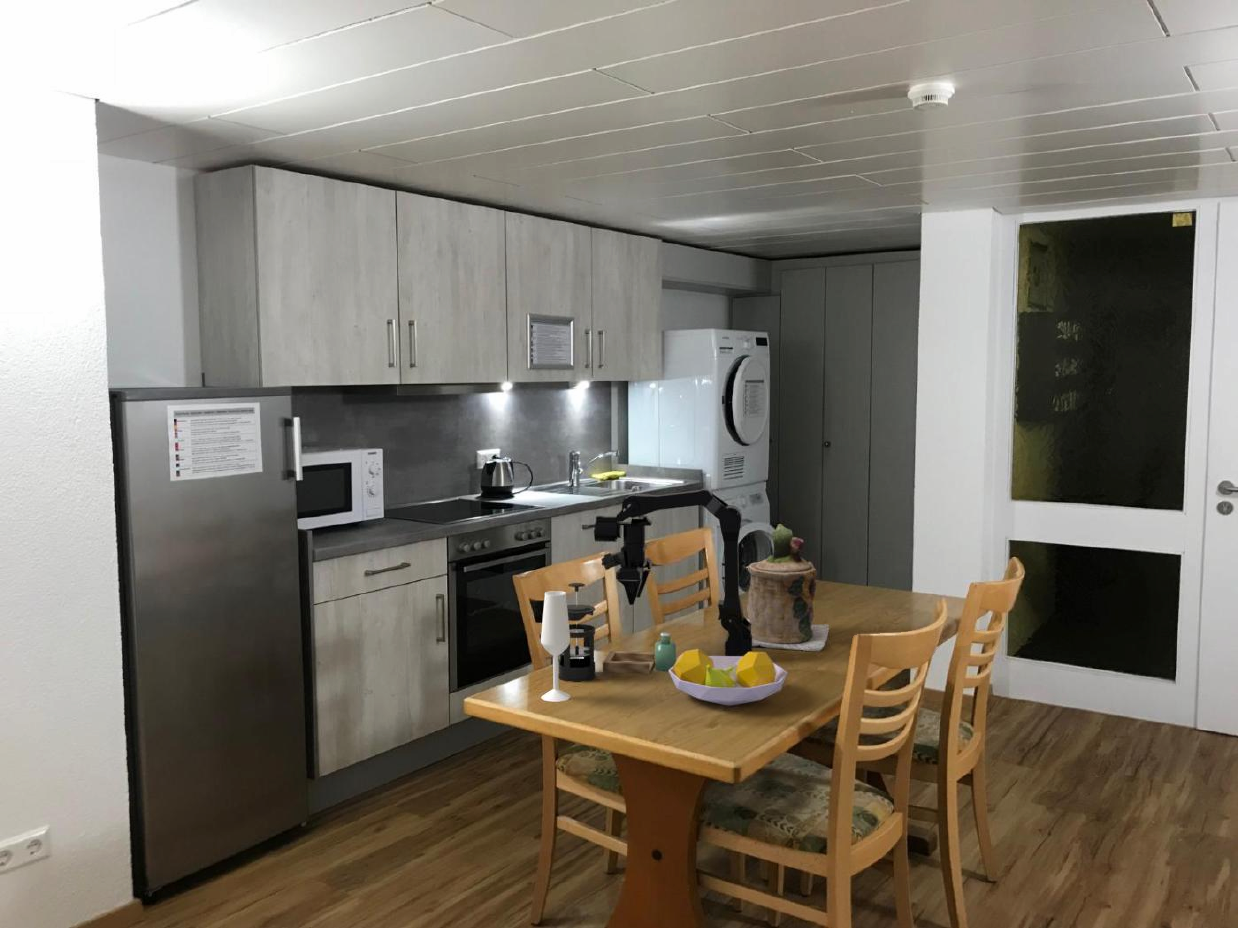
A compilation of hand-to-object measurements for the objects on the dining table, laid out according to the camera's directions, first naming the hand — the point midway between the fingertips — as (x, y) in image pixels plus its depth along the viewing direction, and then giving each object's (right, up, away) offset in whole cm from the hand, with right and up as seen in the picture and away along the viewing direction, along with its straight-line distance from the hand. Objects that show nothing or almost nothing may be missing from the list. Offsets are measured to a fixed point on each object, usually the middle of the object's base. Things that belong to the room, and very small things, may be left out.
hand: (634, 600), depth 264 cm
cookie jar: (+42, -13, +18) cm, 47 cm away
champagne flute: (-19, -17, -35) cm, 43 cm away
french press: (-15, -16, -18) cm, 29 cm away
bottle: (+8, -15, -12) cm, 21 cm away
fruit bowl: (+20, -17, -35) cm, 44 cm away
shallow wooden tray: (-1, -15, -11) cm, 19 cm away
